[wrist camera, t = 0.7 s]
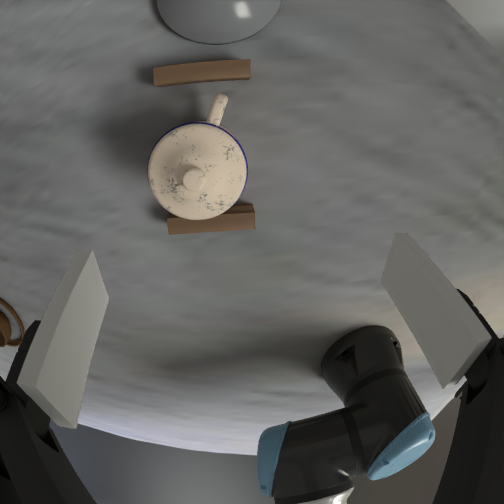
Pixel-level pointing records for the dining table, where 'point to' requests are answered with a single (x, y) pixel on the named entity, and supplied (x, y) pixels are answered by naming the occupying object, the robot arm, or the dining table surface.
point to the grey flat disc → (217, 18)
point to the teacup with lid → (198, 167)
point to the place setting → (9, 327)
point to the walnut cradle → (196, 73)
